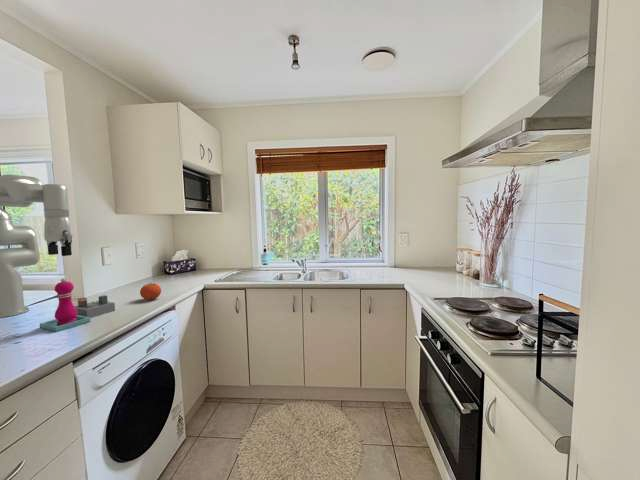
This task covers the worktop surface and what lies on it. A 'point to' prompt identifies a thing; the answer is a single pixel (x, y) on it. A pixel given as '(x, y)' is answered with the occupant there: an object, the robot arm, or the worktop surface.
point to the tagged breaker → (82, 302)
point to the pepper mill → (65, 303)
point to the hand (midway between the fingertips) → (60, 255)
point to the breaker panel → (95, 309)
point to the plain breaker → (103, 299)
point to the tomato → (150, 291)
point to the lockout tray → (53, 324)
